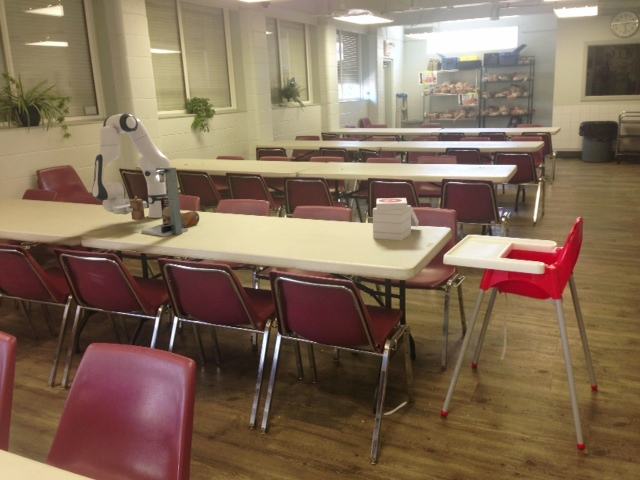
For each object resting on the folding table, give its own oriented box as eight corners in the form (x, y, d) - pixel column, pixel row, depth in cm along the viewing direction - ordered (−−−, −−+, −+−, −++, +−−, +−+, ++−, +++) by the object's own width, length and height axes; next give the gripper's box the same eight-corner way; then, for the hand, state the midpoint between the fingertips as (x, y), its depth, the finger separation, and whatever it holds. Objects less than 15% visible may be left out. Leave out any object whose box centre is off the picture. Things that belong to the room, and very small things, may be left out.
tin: (180, 229, 325) (178, 214, 323) (176, 228, 327) (175, 214, 325) (200, 224, 337) (199, 210, 335) (196, 223, 339) (195, 209, 337)
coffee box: (162, 224, 338) (159, 198, 334) (166, 222, 344) (163, 196, 340) (177, 224, 337) (174, 197, 333) (181, 222, 343) (178, 195, 339)
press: (164, 227, 331) (158, 164, 322) (190, 231, 317) (184, 166, 309) (131, 235, 313) (123, 169, 305) (157, 240, 300) (150, 171, 292)
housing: (139, 217, 329) (136, 195, 325) (144, 218, 326) (142, 195, 322) (132, 219, 325) (129, 196, 321) (137, 220, 322) (134, 197, 318)
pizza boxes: (422, 228, 303) (422, 194, 299) (403, 241, 278) (403, 204, 273) (387, 226, 312) (387, 193, 308) (367, 238, 286) (366, 203, 282)
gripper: (106, 204, 323) (121, 206, 314) (137, 198, 338) (152, 199, 330) (108, 215, 324) (123, 217, 316) (138, 208, 340) (153, 210, 332)
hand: (138, 208), depth 323 cm, fingers closed on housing, 5 cm apart
